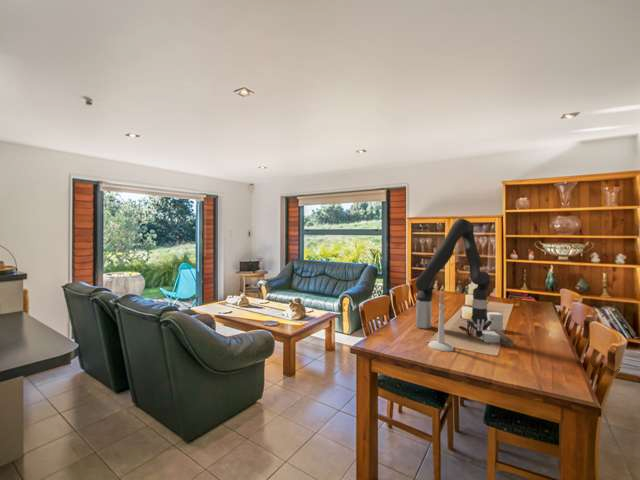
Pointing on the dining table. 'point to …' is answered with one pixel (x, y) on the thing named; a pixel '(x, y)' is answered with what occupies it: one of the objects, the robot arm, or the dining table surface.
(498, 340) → the block
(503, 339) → the brown long bar
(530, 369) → the dining table surface
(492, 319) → the small box
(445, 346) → the candlestick
